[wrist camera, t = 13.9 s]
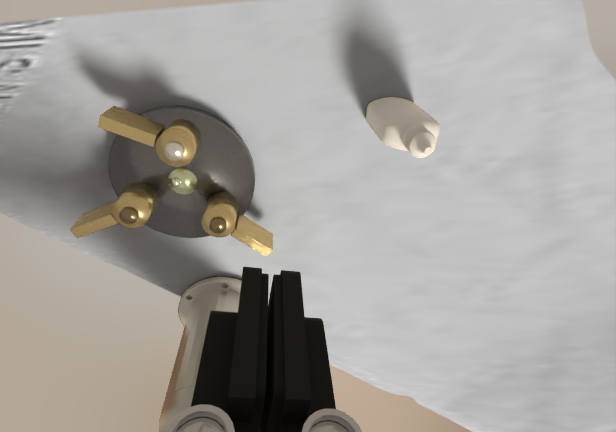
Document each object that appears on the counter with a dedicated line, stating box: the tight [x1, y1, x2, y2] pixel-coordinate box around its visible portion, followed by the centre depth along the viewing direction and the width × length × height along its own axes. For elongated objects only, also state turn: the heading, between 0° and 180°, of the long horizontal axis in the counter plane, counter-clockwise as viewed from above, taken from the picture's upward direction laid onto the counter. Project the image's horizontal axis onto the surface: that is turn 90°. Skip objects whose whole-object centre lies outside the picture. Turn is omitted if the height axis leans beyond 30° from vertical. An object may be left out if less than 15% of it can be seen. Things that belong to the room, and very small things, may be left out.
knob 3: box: [202, 192, 273, 257], centre depth 42 cm, size 9×4×5 cm, turn 49°
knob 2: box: [70, 182, 158, 238], centre depth 40 cm, size 9×4×5 cm, turn 109°
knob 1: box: [98, 106, 201, 167], centre depth 36 cm, size 9×4×5 cm, turn 66°
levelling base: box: [109, 106, 255, 238], centre depth 42 cm, size 16×16×2 cm
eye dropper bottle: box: [366, 97, 440, 158], centre depth 36 cm, size 4×6×12 cm
